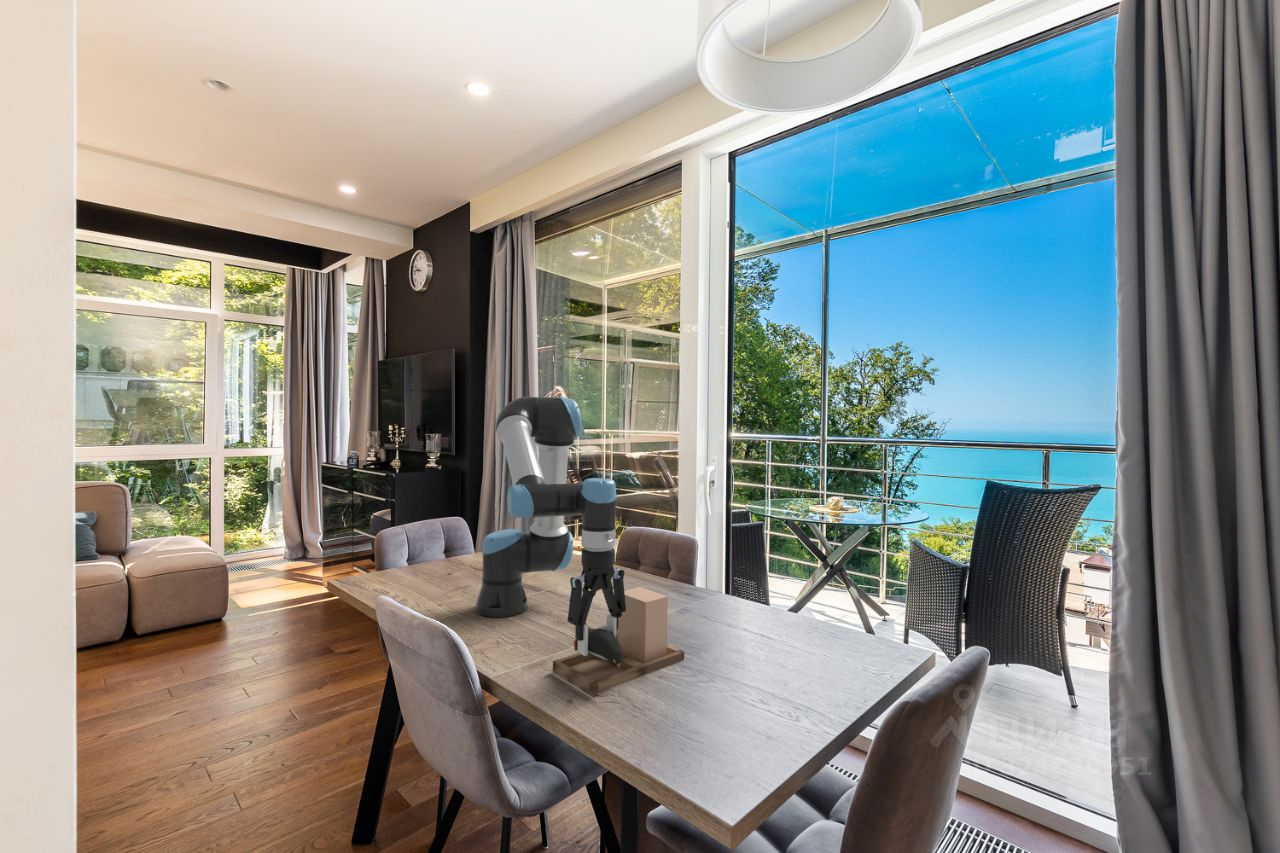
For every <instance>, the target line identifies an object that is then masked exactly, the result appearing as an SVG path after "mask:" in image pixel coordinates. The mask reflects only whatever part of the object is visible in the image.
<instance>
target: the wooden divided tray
mask: <svg viewBox="0 0 1280 853" xmlns="http://www.w3.org/2000/svg"><path fill="white" fill-rule="evenodd" d="M684 660H685V651H684V650H681V649H679V648H676V647H674V646H673V645H671V644H668V643H667V655H666V656H663V657H660V658H658V659H655V660H652V661H649V662H647V663H644V664H642V663H640V662H638V661H636V660H634V659H632V658H630V657H628V656H626V655H624V654H623V661H622V663H621V665H620V667H619V669H618V666H617V664H615V663H613V661H612V660H604V659H601V658H599V657H596V656H594V655H592V654H590V653H589V652H588V655H587V656H584V655H582V654H580V653H578V652H577V653H575V654H571V655H568V656H565V657H562V658H560V659H555V660H553V661H552V673H553V674H554V675H556V676H558V677H559V678H561V679H563V680H565V681H566V682H567V683H569V684H571V685H572V686H574V687H575V688H577V689H579V690H581V691H582V692H583V693H585V694H587V695H589V696H590V697H592V698H596V697H598V696H599V695H598V693H600V692H603V691H606V690H608V689H610V688H613V687H615V686H619V685H622V684H624V683H627V682H629V681H631V680H634V679H636V678H639V677H642V676H645V675H647V674H649V673H652V672H654V671H657V670H660V669H662V668H665V667H668V666H671V665H673V664H675V663H678V662H680V661H681V662H682V661H684Z"/></svg>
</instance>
